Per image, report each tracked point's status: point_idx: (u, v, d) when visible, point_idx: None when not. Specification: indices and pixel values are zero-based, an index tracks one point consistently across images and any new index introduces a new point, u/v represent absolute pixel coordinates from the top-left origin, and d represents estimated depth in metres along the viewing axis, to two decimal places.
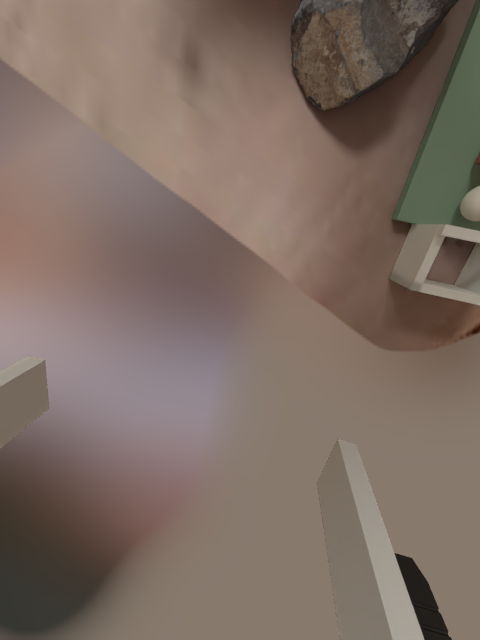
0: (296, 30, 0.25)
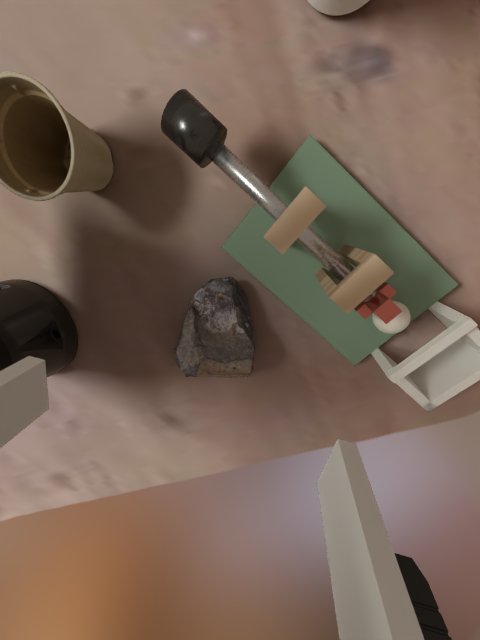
0: None
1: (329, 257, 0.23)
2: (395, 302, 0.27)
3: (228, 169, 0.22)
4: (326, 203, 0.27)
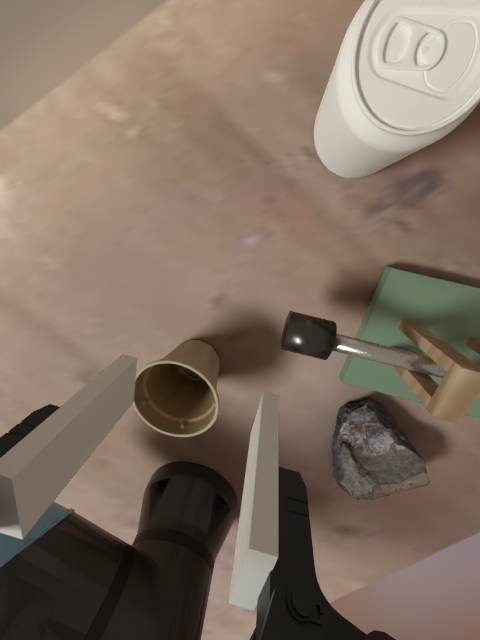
0: None
1: None
2: None
3: (352, 353, 0.23)
4: (433, 311, 0.27)
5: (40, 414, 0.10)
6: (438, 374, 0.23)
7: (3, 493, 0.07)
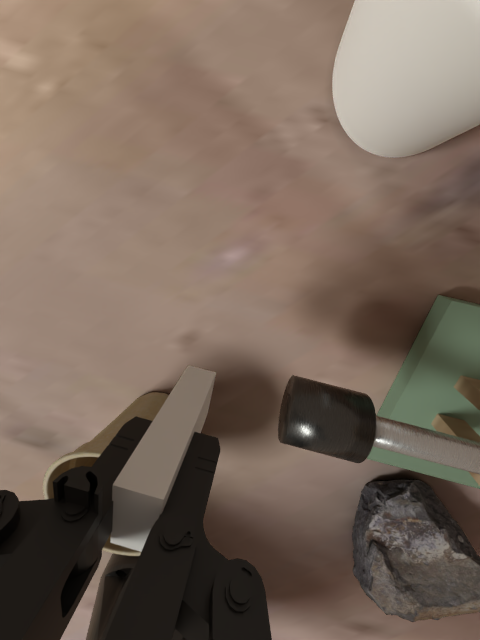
0: None
1: None
2: None
3: (400, 452, 0.14)
4: None
5: (130, 426, 0.10)
6: None
7: (125, 506, 0.07)
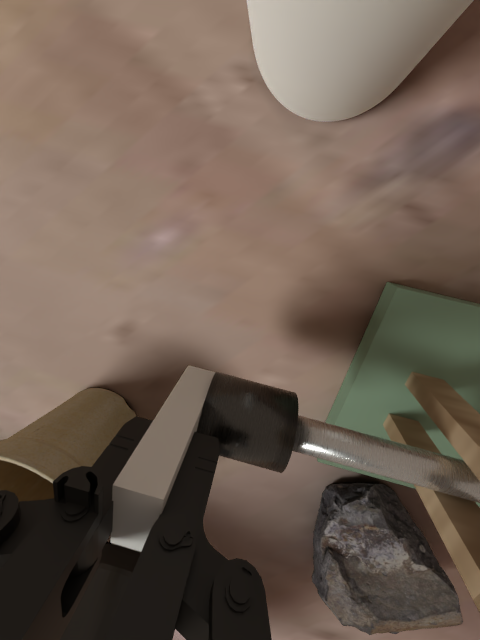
0: None
1: None
2: None
3: (331, 461, 0.12)
4: (467, 360, 0.16)
5: (131, 426, 0.10)
6: None
7: (125, 506, 0.07)
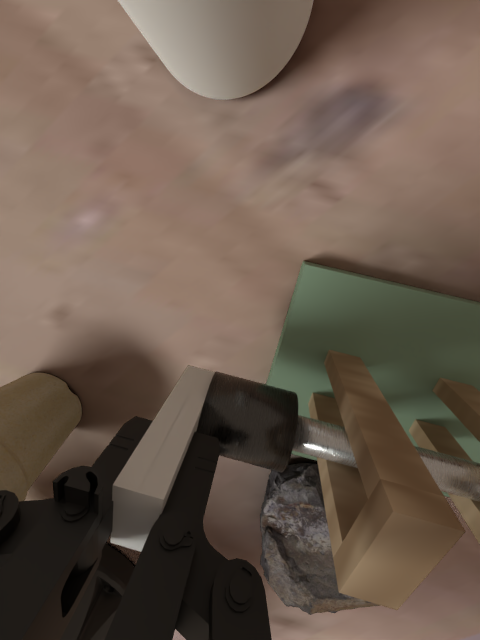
0: None
1: None
2: None
3: (331, 460, 0.12)
4: (380, 337, 0.16)
5: (131, 426, 0.10)
6: None
7: (125, 506, 0.07)
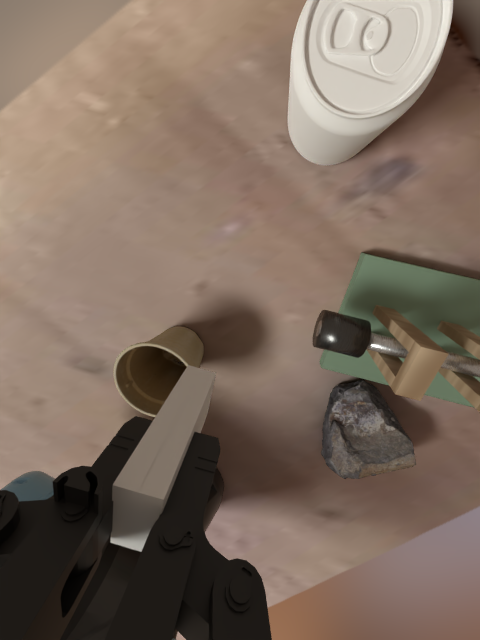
0: None
1: None
2: None
3: (385, 352, 0.24)
4: (407, 296, 0.28)
5: (131, 426, 0.10)
6: (470, 372, 0.23)
7: (125, 506, 0.07)
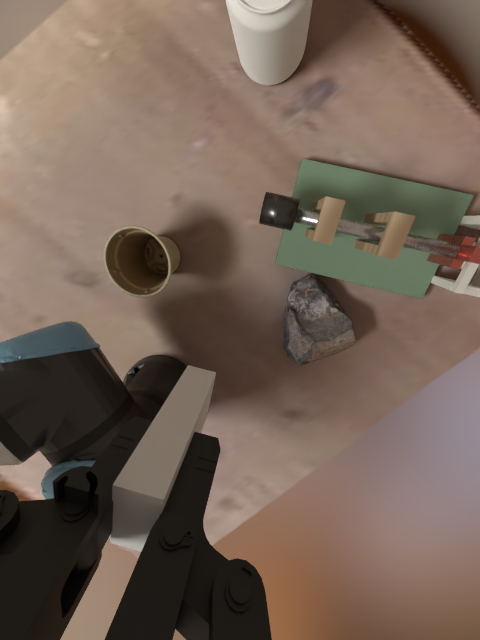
0: (304, 363, 0.43)
1: (411, 240, 0.30)
2: None
3: (312, 222, 0.31)
4: (336, 194, 0.35)
5: (131, 426, 0.10)
6: (376, 236, 0.30)
7: (125, 506, 0.07)
